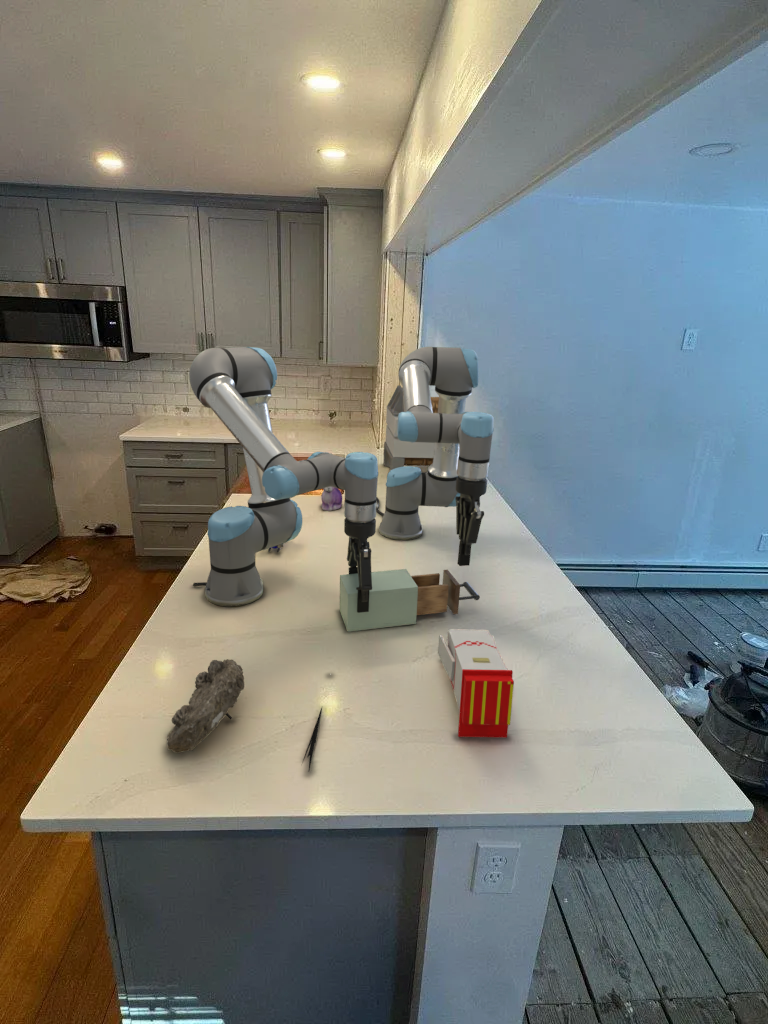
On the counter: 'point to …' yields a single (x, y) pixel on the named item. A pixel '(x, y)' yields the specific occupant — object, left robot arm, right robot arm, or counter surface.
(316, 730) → the feather
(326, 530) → the counter surface
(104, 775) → the counter surface
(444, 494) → the right robot arm
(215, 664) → the fossil
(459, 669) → the toy
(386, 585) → the sage green rectangular box
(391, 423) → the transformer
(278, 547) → the figurine character
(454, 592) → the drawer
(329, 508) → the figurine
